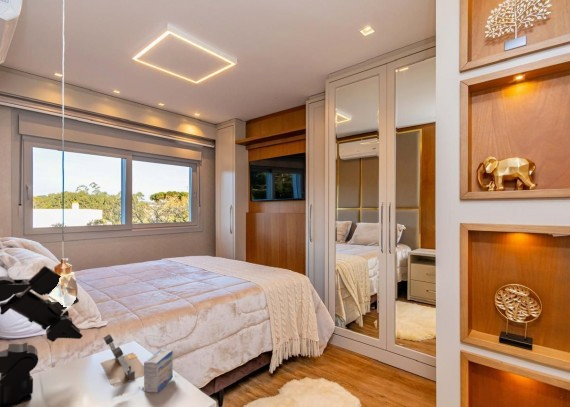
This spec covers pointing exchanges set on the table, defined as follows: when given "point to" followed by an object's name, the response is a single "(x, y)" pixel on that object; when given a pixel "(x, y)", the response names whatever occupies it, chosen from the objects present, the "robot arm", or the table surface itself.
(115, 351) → the near lever
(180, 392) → the table surface
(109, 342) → the far lever
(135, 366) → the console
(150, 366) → the medicine box
